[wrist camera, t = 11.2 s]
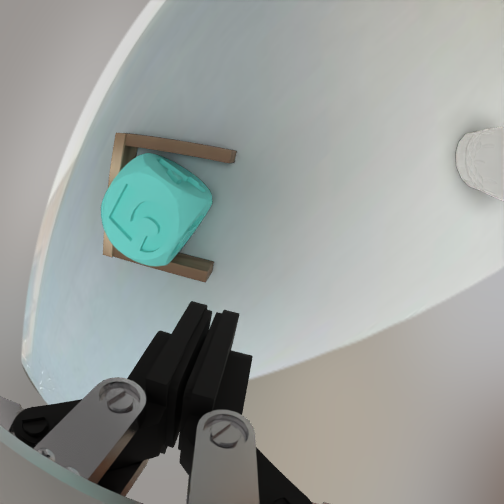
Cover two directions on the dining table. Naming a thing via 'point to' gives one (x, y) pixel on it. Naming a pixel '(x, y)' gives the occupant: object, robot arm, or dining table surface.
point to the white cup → (483, 161)
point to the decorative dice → (153, 209)
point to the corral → (129, 143)
